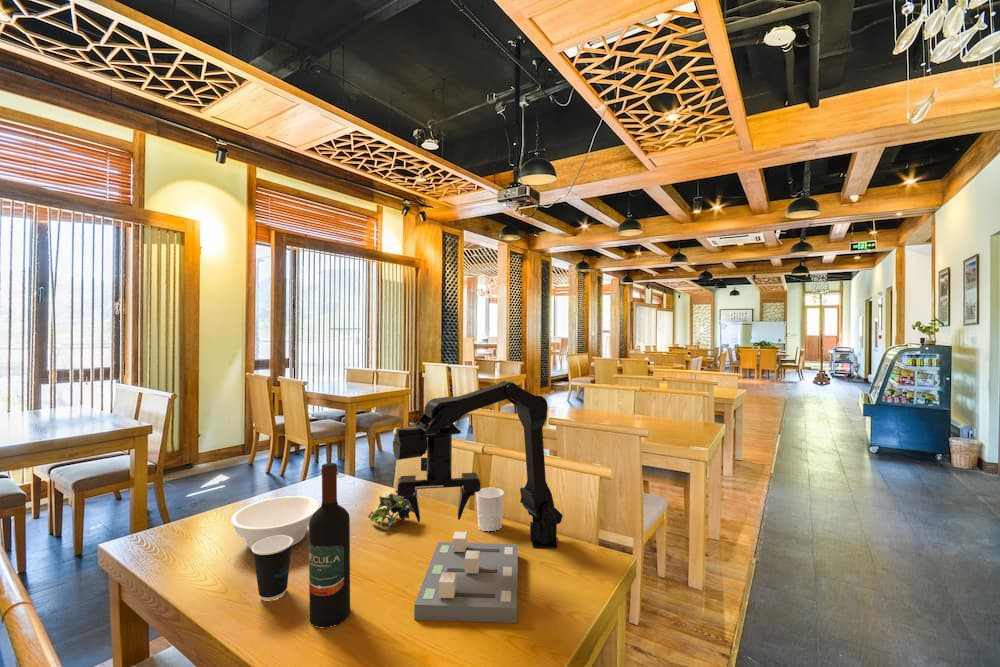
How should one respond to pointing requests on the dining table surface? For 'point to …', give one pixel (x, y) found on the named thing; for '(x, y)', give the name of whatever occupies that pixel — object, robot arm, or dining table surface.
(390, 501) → the green leafy clump
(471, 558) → the block
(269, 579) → the dixie cup
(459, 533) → the block
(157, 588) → the dining table surface
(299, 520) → the bowl
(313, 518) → the wine bottle
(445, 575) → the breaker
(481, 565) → the grey slider switch panel
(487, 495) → the white cup
